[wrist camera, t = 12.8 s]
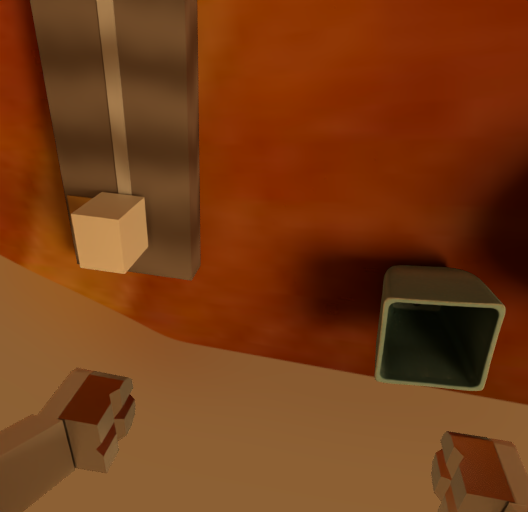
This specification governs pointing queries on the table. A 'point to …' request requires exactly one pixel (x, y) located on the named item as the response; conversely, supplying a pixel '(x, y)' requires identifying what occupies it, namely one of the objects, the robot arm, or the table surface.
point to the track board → (128, 114)
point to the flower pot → (436, 328)
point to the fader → (110, 232)
